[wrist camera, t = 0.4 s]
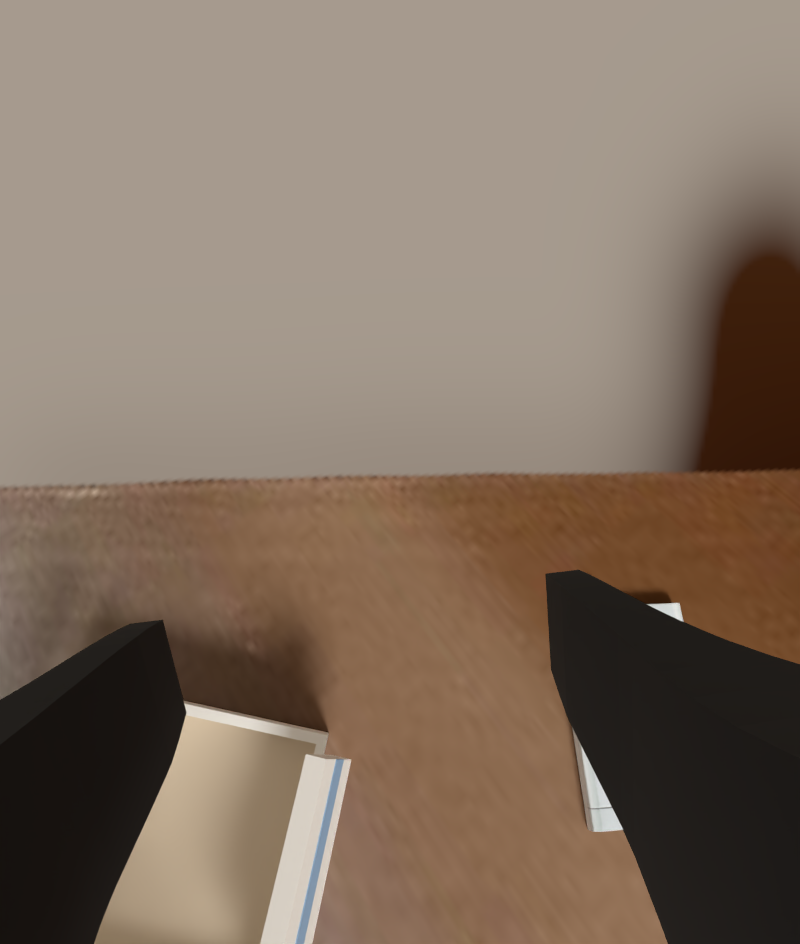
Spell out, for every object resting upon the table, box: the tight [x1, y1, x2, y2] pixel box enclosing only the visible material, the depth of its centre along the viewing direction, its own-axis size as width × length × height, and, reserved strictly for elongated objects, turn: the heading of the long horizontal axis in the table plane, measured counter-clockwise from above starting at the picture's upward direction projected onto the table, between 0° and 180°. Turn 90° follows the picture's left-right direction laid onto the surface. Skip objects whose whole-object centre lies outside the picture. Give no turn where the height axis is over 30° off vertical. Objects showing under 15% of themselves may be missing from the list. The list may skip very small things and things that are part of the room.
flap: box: [260, 754, 351, 944], centre depth 26 cm, size 12×4×1 cm
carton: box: [94, 700, 329, 944], centre depth 30 cm, size 14×12×4 cm
